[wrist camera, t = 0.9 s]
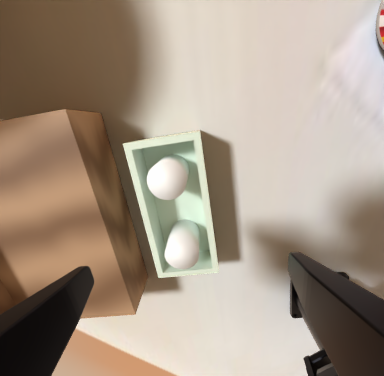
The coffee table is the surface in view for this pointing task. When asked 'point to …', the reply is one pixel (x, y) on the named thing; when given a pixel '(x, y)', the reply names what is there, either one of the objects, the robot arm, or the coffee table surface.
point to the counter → (65, 212)
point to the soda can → (380, 25)
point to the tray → (174, 202)
